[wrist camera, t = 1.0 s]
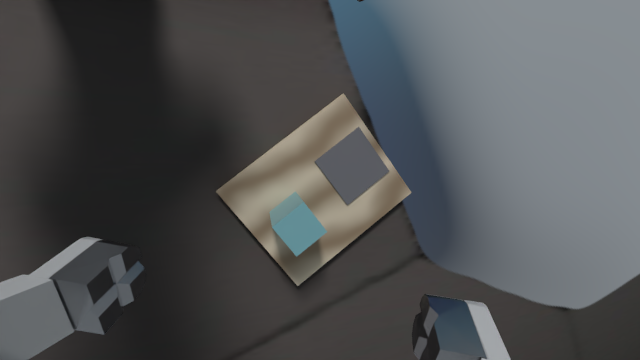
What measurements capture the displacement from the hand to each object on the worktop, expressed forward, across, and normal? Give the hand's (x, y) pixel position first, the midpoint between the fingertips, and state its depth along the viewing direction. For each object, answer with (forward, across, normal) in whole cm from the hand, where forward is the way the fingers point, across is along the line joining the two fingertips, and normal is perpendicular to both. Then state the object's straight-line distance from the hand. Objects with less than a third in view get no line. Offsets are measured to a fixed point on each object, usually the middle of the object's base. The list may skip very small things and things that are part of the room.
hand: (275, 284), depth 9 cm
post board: (+33, +2, +15) cm, 36 cm away
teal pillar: (+29, +5, +17) cm, 34 cm away
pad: (+34, -2, +11) cm, 36 cm away
